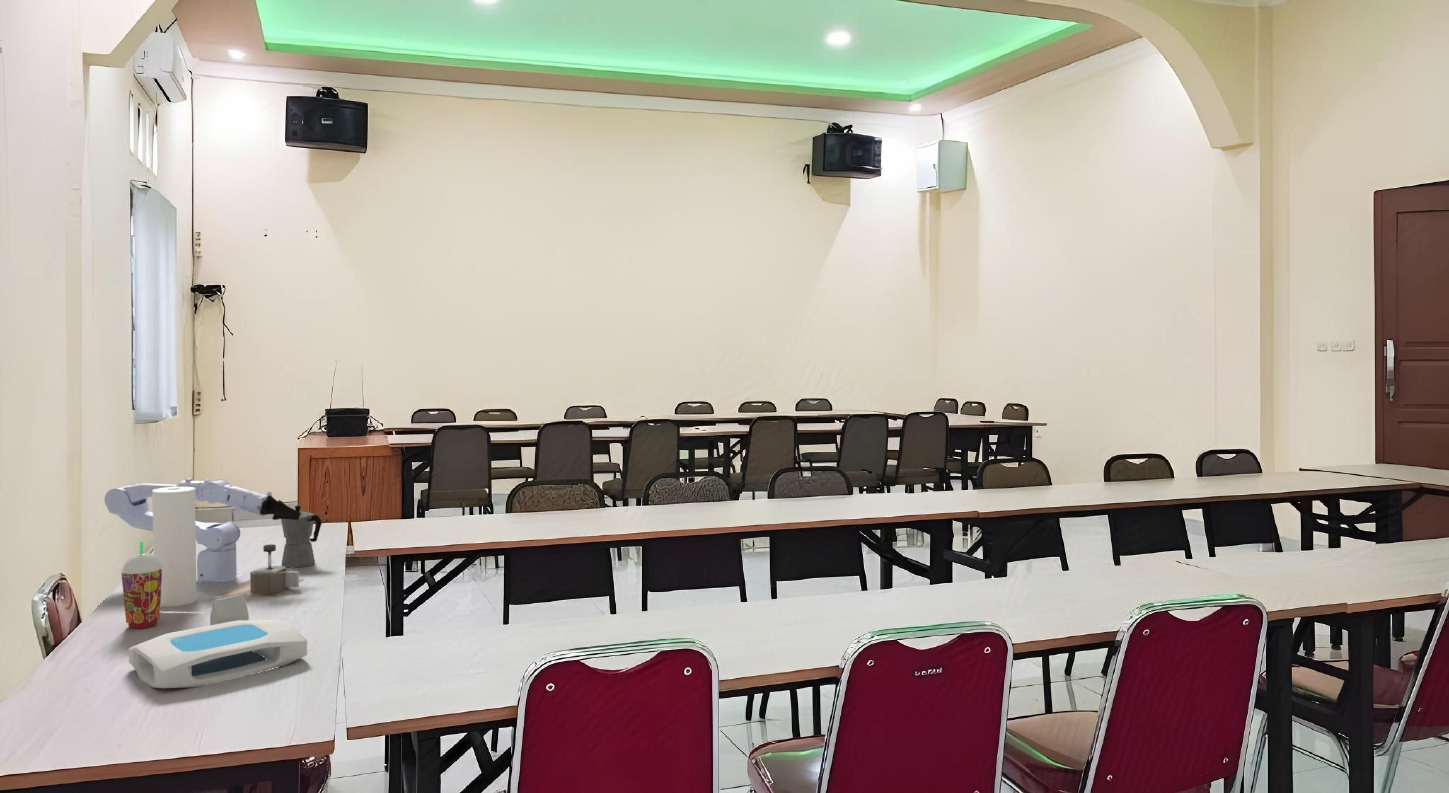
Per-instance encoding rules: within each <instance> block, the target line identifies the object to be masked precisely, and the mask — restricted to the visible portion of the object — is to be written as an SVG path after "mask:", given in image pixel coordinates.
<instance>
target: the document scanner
mask: <svg viewBox="0 0 1449 793" xmlns="http://www.w3.org/2000/svg"><path fill="white" fill-rule="evenodd" d="M250 651H254V652H256V653H258V654H257V655H259V654H260V655H259V656H261V655H262V656H264V657H265V658H266V659H267V660H266V659H265V658H264V657H263V658H264V659H263V660H261V661H257V662H252V663H249V664H245V665H241V666H237V667H233V668H232V667H231V668H228V669H223V670H219V671H214V672H209V673H208V672H207V673H204V674H198V675H192V666H196V665H198V664H200V663H203V662H206V661H210V660H214V659H219V658H224V657H229V656H233V655H238V654H242V653H243V654H244V653H247V652H250ZM256 653H255V654H256ZM307 655H308V640H307V639H306V637H304V636H303V635H302V633H301V632H300V630H298V629H297V628H296V627H294V626H293V625H291V624H289V623H287V622H285V621H283V620H281V619H280V620H279V619H271V620H270V619H267V620H266V619H263V620H262V619H261V620H260V619H258V620H257V619H256V620H255V619H253V620H252V619H251V620H250V619H249V620H238V621H231V622H226V623H221V624H215V625H210V624H209V625H207V626H201V627H194V628H189V629H184V630H179V631H174V632H168V633H165V634H162V635H159V636H156V637H154V638H151V639H149V640H146V641H143V642H141V643H137V644H136V645H133V646H131V647H128V663H129V664H130V665H131V666H132V667H133V669H134V670H135V672H136V675H137V678H139V680H141V681H142V682H143V683H145V684H146V685H147V686H148V687H149V688H151V689H152V688H156V689H180V688H197V687H198V688H199V687H200V686H201V687H204V686H203V685H205V686H209V685H213V684H212V683H214V684H218V683H222V682H221V681H223V682H225V681H224V680H227V681H230V679H231V680H234V679H233V678H236V679H239V678H238V677H240V678H242V677H241V676H244V675H249V676H251V675H250V674H252V673H257V674H259V673H258V672H261V671H266V670H269V669H272V668H276V667H279V666H282V667H284V666H286V665H288V664H291V663H294V662H296V661H298V660H300V659H302V658H304V657H306V656H307ZM262 656H261V657H262ZM266 672H267V671H266ZM244 677H245V676H244Z"/></svg>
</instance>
